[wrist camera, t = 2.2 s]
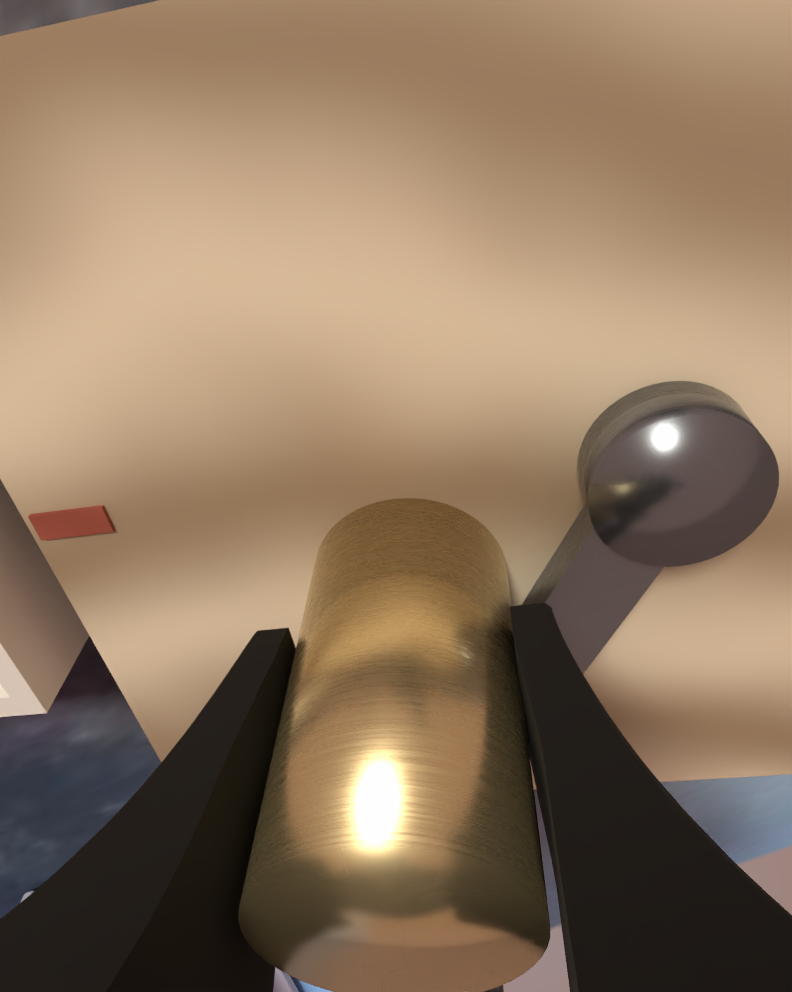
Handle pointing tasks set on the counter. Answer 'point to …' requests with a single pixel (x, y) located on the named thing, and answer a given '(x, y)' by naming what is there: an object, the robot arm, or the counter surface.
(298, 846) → the brass cylinder
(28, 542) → the tray
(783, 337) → the crank board
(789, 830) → the counter surface
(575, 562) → the crank
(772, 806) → the counter surface
